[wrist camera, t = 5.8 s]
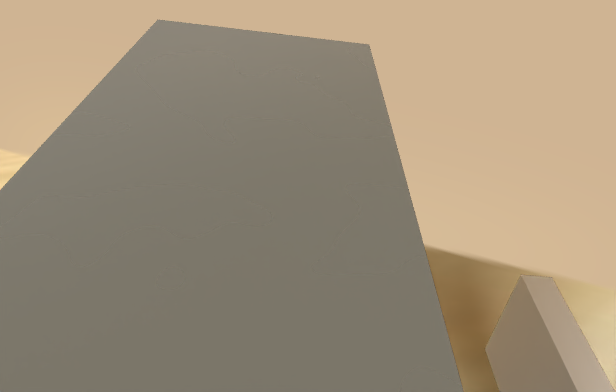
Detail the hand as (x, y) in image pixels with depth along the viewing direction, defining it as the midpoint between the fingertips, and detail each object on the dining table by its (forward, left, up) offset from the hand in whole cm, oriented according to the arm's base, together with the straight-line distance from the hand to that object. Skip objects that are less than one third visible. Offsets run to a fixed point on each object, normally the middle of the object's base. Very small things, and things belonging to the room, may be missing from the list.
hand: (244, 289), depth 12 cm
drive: (0, +3, -8) cm, 9 cm away
